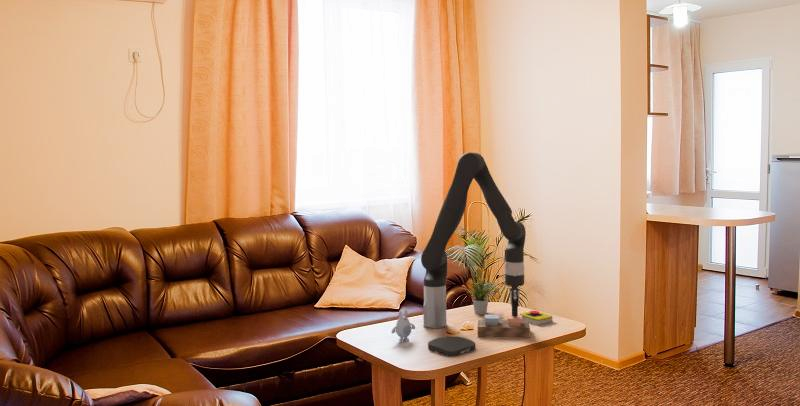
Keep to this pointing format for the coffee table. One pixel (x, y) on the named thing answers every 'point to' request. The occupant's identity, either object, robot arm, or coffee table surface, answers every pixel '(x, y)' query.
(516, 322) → the terracotta key
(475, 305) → the house plant
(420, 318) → the coffee table surface
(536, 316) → the emergency button
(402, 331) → the toy figure
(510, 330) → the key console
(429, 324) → the robot arm
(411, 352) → the coffee table surface
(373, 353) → the coffee table surface
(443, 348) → the media streaming box
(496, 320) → the slate-blue key
